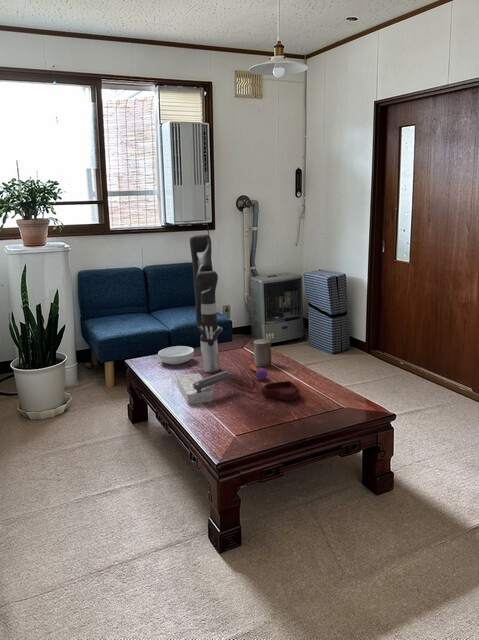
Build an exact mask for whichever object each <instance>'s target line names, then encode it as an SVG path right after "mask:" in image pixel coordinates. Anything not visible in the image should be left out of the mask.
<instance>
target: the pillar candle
mask: <svg viewBox="0 0 479 640" xmlns="http://www.w3.org/2000/svg"><path fill="white" fill-rule="evenodd" d="M253 353H254V354H253V357H254V365H255V366H256V367H261V368H263V367H269V366H272V365H273V364H272V342H271V339H268V338H259V339H255V340H254V341H253Z"/></svg>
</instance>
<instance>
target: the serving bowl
mask: <svg viewBox="0 0 479 640" xmlns="http://www.w3.org/2000/svg"><path fill="white" fill-rule="evenodd" d="M194 352H195V349H194V348H193V347H190V346H185V345H183V346H182V345H176V346H170V347H169V346H168V347H166V348H163V349H161V350H159V351H158V353H157V355H158V357H159V359H160V361H161V362H163V363H165V364H167V365H181V364H184V363H187V362H189V361H190V360H191V359H192V358H193V356H194V354H195V353H194Z"/></svg>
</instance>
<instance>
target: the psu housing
mask: <svg viewBox="0 0 479 640" xmlns="http://www.w3.org/2000/svg"><path fill="white" fill-rule="evenodd" d="M201 379H204V378H203V376H202V375H201V373H199V372H198V373H189V374H184V375H182V374H181V375H177V376H176V385H177V387H178V390H179V391H180V393H181V395H182V397H183V398H184V400H185V402H186V404H187V405H189V406H190V405H196V404H202V403H207V402H213V401H214V400H213V390H212V389H211V388H210V386H208V387H205V388H203V389H194V388H193V383H195V382H198V381H199V380H201Z"/></svg>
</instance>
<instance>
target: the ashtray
mask: <svg viewBox="0 0 479 640" xmlns="http://www.w3.org/2000/svg"><path fill="white" fill-rule="evenodd" d="M260 391H261V394H262V396H263V397H264V398H265V399H269V398H275V399H277V400H284V401H286V402H292V401H294V400H295V399H297V398H298V396H299V395H300V389H299V386H296V384H295V383H293V382H292V381H290V380H287V381H286V380H285V381H277V382H270V383H269V382H268V383H267V384H265V385H264V386H262V387H261V389H260Z"/></svg>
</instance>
